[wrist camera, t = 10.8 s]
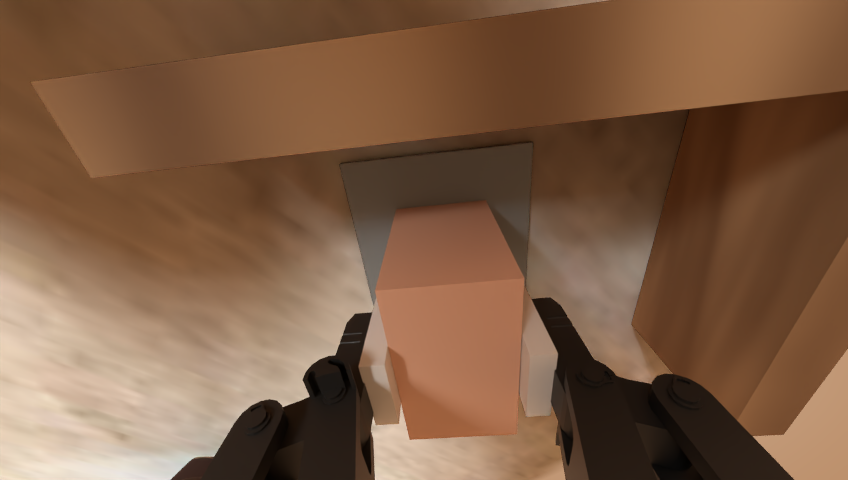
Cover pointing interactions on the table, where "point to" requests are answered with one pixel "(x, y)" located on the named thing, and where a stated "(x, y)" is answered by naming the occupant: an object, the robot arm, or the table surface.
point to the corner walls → (565, 103)
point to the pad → (439, 194)
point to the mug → (193, 469)
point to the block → (452, 320)
